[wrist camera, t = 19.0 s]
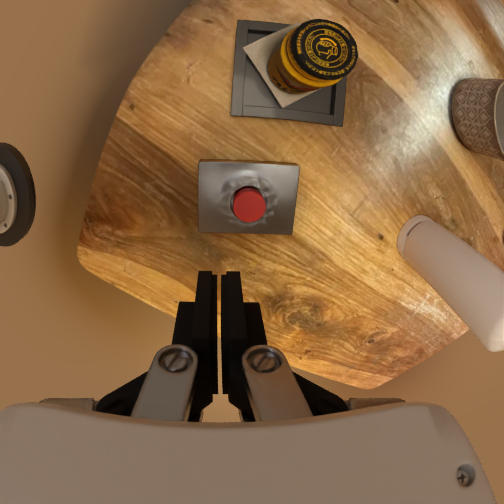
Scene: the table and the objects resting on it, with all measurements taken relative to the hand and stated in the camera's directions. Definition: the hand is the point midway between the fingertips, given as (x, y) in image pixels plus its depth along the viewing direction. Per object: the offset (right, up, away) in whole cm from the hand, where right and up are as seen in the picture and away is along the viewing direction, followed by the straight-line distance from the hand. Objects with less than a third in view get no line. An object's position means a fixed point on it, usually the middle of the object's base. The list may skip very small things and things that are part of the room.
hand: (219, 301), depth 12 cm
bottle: (+28, +4, +29) cm, 41 cm away
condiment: (+6, +23, +15) cm, 28 cm away
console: (+1, +9, +24) cm, 26 cm away
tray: (+6, +24, +18) cm, 30 cm away
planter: (+38, +25, +20) cm, 49 cm away
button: (+1, +8, +21) cm, 23 cm away
